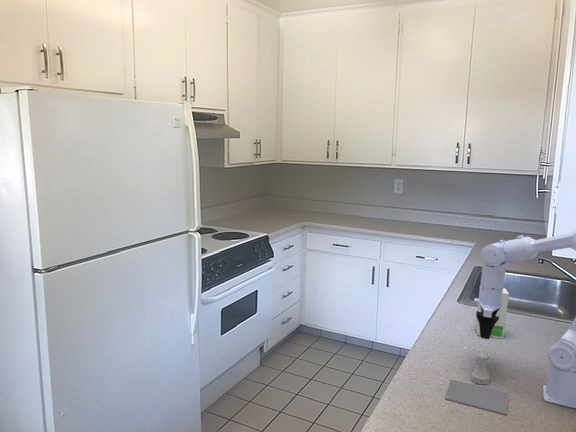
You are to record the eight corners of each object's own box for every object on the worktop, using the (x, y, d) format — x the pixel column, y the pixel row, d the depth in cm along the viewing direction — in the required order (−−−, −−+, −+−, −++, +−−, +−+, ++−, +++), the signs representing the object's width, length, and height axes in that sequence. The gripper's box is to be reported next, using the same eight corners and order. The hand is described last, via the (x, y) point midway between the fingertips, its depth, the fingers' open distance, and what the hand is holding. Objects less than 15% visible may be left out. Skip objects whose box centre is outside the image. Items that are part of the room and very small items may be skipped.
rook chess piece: (467, 378, 127) (470, 350, 126) (480, 375, 128) (483, 348, 127) (479, 386, 123) (482, 358, 121) (492, 383, 124) (495, 355, 123)
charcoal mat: (508, 394, 119) (508, 393, 119) (506, 415, 110) (507, 414, 110) (450, 380, 126) (450, 379, 126) (444, 399, 116) (444, 398, 116)
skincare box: (477, 336, 154) (481, 290, 152) (474, 328, 161) (478, 284, 158) (504, 339, 152) (509, 293, 150) (500, 331, 159) (505, 286, 156)
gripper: (478, 276, 136) (473, 320, 139) (473, 291, 124) (467, 339, 126) (504, 281, 133) (499, 326, 136) (502, 296, 121) (496, 345, 123)
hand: (485, 333), depth 131 cm, fingers open, 7 cm apart
